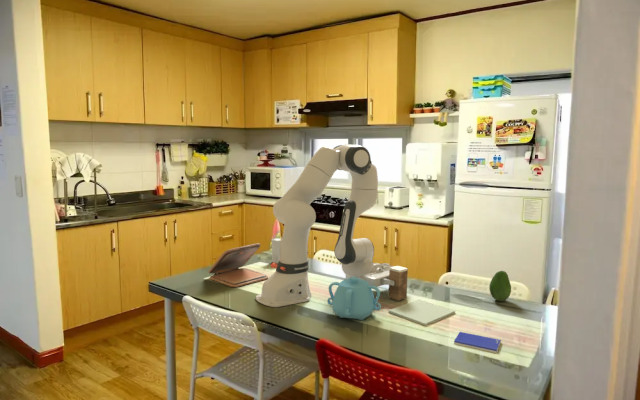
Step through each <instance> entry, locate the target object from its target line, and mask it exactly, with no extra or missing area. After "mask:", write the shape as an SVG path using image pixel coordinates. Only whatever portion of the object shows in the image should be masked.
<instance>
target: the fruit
mask: <svg viewBox="0 0 640 400" xmlns="http://www.w3.org/2000/svg"><path fill="white" fill-rule="evenodd" d="M511 292H512V285H511V282H510V279H509V275H508V272H506V271H505V270H500V271H497V272H496V273H495V274H494V275H493V276H492V278H491V281H490V283H489V293H490V295H491V297H492V298H493V300H495V301H498V302H505V301H506V300H507V299H508V298H509V297H510V296H511Z"/></svg>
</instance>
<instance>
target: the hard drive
mask: <svg viewBox="0 0 640 400" xmlns="http://www.w3.org/2000/svg"><path fill="white" fill-rule="evenodd" d="M501 342H502V340H501V339H498V338H493V337H487V336H483V335H478V334H473V333H468V332H462V331H459V332H458V334H457V335H456V337H455V339H454V341H453V344H455V345H457V346H458V345H459V346H463V347H467V348H472V349H475V350H481V351H486V352H490V353H494V354H497V353H498V352H499V348H500V346H501Z"/></svg>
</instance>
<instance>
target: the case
mask: <svg viewBox="0 0 640 400" xmlns="http://www.w3.org/2000/svg"><path fill="white" fill-rule="evenodd" d="M260 247H261V243H258V242H257V243H252V244H248V245H243V246H242V245H241V246H240V247H234V248H229V249H227V250H225V251H224V252H223V253H221V255H220V256H219V257H218V259H217V260H216V261H215V262H214V264H213V265H212V266H211V267H210V269H209V270H208V274H212V275H211V276H209V279H210V280H212V281H214V282H218V283H220V284H222V285H225V286H227V287H230V288H238V287H240V288H241V287H243V286H247V285H251V284H254V283H258V282H262V281H266V280H267V279H268V278H269V276H268V275H267V274H264V273H261V272H258V271H255V270H252V269H249V268H246V267H245V268H244V267H243V266H245V265H246V264H247V263H248V262H249V260H250V259H251V258H252V257H253V256H254V255H255V253H256V252H257V251H258V250H259V248H260ZM241 267H242V268H241Z"/></svg>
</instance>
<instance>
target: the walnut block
mask: <svg viewBox="0 0 640 400" xmlns="http://www.w3.org/2000/svg"><path fill="white" fill-rule="evenodd" d="M408 274H409V272H408V268H407V267H404V266H400V265H395V266H394V267H391V268H390V271H389V280H395V281H396V285H393V286H392V285H388V298H390V299H392V300H395V301H402V300H405V299H407V297H408V295H407V294H408Z"/></svg>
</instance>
